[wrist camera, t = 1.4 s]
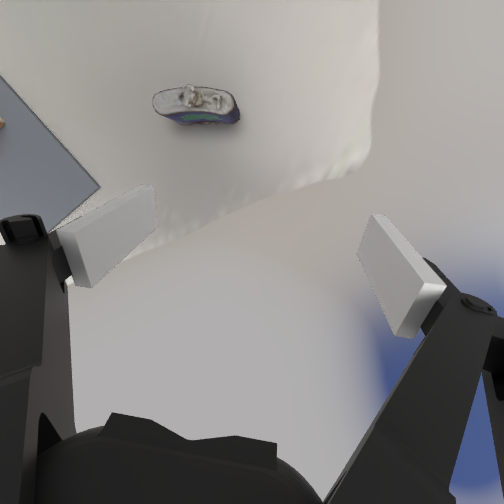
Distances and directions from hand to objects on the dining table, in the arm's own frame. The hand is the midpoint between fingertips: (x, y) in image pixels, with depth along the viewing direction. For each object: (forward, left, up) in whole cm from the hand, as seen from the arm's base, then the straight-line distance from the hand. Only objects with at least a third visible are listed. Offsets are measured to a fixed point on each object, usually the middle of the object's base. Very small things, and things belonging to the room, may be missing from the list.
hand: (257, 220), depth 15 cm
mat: (-24, -29, -25) cm, 45 cm away
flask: (-12, 0, -25) cm, 27 cm away
